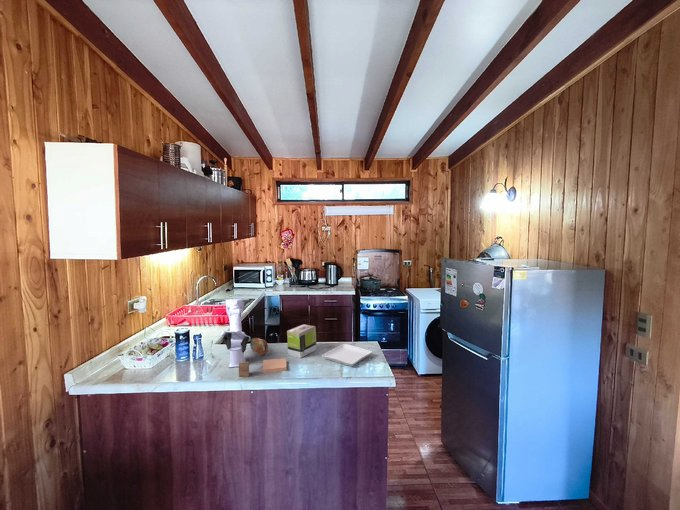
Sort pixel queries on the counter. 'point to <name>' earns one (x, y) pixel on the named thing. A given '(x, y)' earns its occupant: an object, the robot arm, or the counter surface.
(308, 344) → the tea box
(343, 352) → the salad plate
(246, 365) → the walnut block
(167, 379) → the counter surface
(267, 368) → the terracotta trivet
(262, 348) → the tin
